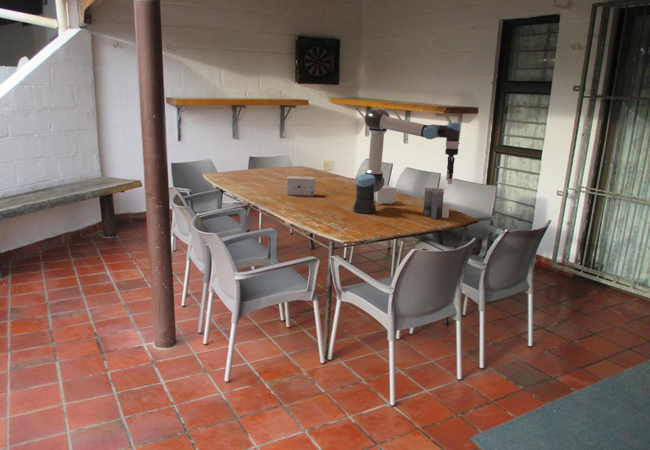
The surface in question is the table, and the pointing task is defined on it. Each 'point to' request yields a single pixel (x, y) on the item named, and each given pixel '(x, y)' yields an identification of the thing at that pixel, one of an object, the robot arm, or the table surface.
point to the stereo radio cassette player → (301, 185)
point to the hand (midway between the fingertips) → (449, 182)
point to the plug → (444, 213)
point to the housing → (433, 201)
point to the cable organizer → (385, 195)
